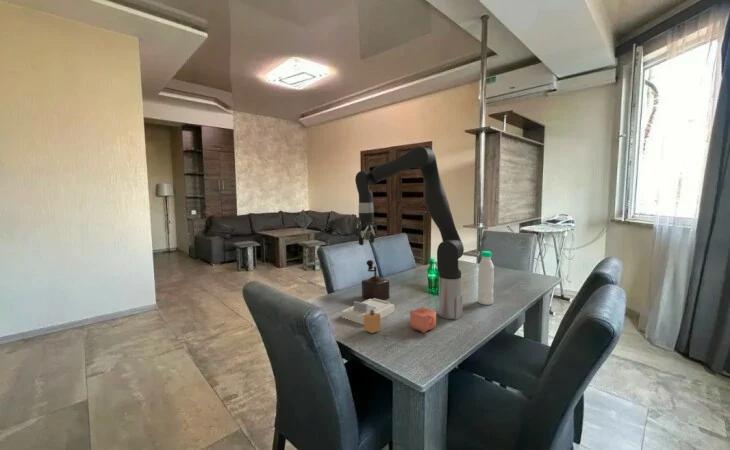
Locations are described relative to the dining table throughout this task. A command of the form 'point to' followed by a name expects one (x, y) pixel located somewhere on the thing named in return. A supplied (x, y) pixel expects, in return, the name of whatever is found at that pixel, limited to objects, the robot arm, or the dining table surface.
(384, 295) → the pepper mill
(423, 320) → the pink cube teapot
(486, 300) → the white milk bottle
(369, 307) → the grey block
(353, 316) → the socket plate
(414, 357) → the dining table surface
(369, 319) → the plug
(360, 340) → the dining table surface
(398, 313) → the dining table surface
